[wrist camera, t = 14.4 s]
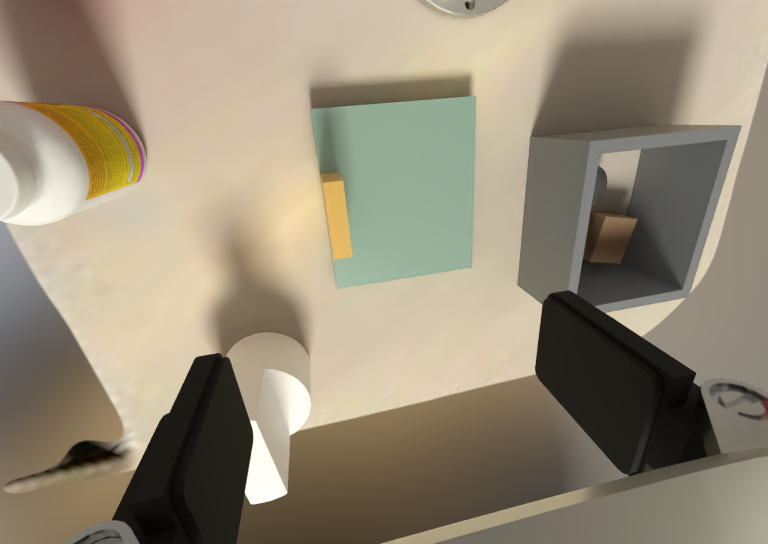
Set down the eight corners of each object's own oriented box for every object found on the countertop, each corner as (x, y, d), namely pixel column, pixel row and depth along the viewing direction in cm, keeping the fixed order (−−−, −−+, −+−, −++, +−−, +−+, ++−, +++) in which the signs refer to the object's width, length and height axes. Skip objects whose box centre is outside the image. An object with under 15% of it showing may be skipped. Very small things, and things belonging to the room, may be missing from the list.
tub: (530, 137, 34) (590, 141, 27) (655, 124, 36) (741, 125, 29) (517, 285, 41) (563, 320, 33) (624, 267, 43) (688, 297, 36)
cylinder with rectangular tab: (318, 388, 41) (323, 484, 30) (239, 409, 40) (214, 517, 29) (298, 322, 37) (295, 406, 26) (210, 344, 36) (168, 441, 25)
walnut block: (585, 209, 39) (605, 216, 36) (615, 212, 40) (637, 219, 37) (570, 252, 41) (589, 262, 38) (599, 254, 42) (620, 263, 39)
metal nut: (591, 198, 38) (604, 205, 37) (548, 213, 38) (559, 219, 36) (594, 153, 36) (609, 158, 34) (548, 168, 35) (560, 173, 34)
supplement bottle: (99, 87, 26) (-65, 60, 15) (169, 165, 29) (78, 195, 17) (28, 138, 26) (-187, 152, 15) (104, 210, 29) (-28, 269, 18)
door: (310, 109, 30) (311, 106, 24) (466, 97, 32) (506, 91, 26) (335, 280, 36) (341, 314, 30) (463, 260, 38) (494, 288, 32)
